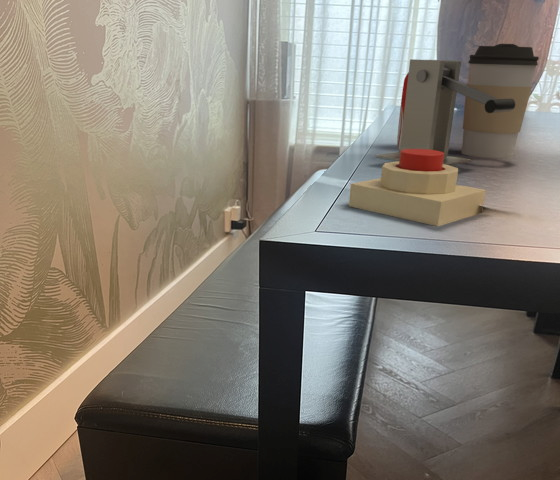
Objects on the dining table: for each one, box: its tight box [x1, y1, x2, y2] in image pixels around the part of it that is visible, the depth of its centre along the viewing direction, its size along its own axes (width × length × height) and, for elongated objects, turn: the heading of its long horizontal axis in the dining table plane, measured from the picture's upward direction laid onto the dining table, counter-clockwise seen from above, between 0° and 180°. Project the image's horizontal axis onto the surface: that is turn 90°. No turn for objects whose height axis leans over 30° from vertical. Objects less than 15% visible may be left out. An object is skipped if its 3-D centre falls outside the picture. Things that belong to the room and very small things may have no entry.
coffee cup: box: [461, 43, 540, 159], centre depth 84 cm, size 9×9×15 cm
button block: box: [348, 161, 487, 227], centre depth 58 cm, size 10×8×4 cm
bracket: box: [374, 58, 472, 166], centre depth 79 cm, size 10×8×13 cm
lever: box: [441, 67, 515, 113], centre depth 75 cm, size 12×5×2 cm, turn 45°
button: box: [399, 149, 444, 171], centre depth 57 cm, size 4×4×2 cm
